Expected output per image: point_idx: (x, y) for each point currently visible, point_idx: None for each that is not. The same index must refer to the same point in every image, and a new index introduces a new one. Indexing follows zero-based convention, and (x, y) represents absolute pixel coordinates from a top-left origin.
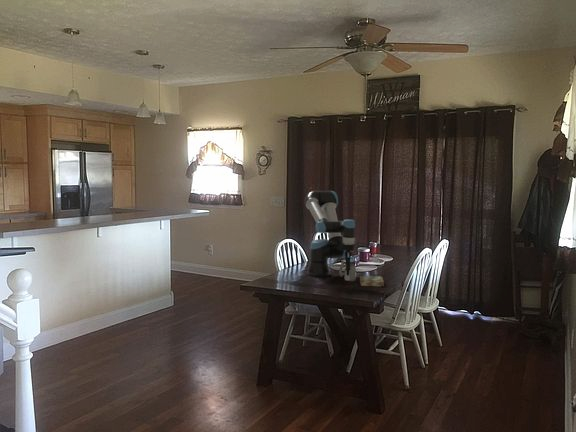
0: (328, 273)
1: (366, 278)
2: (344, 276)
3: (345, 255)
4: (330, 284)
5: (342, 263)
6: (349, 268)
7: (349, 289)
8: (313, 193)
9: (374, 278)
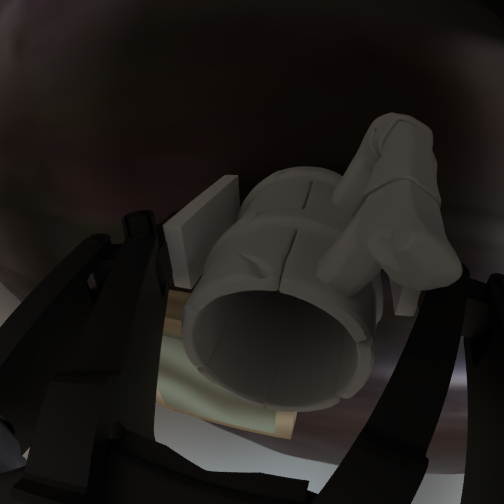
0: (500, 4)
1: (180, 358)
2: (293, 174)
3: (22, 474)
4: (92, 46)
5: (378, 218)
6: (94, 289)
7: (38, 199)
8: None
9: (201, 397)
